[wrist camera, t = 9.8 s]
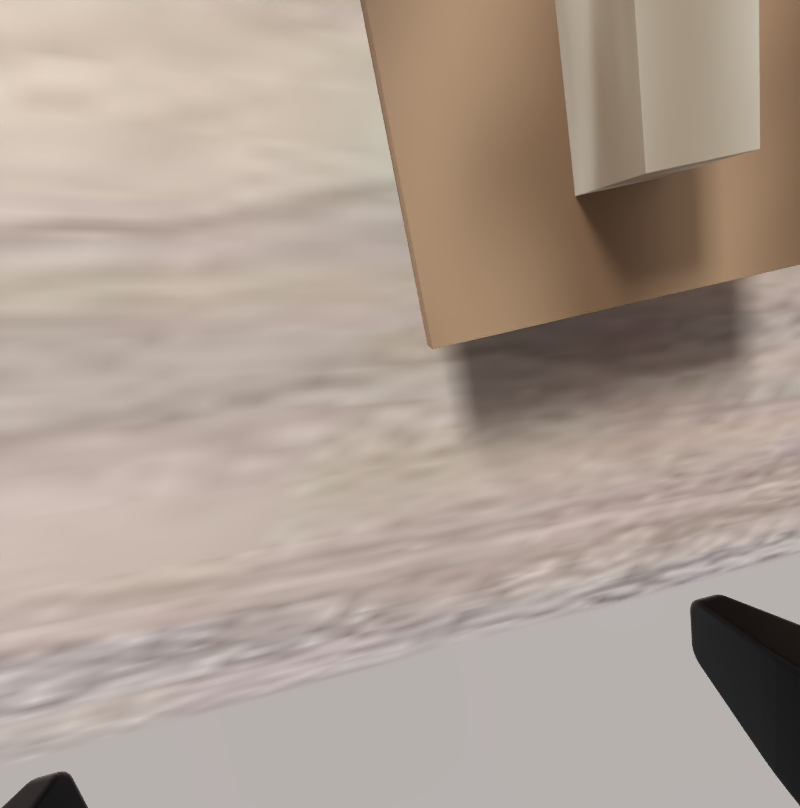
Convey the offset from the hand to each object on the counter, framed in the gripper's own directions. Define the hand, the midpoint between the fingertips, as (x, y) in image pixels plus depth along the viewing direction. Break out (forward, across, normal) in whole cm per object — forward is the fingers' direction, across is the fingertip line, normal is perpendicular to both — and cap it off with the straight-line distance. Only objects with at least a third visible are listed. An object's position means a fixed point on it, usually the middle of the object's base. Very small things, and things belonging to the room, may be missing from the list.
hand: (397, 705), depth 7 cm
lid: (+8, -8, -9) cm, 15 cm away
